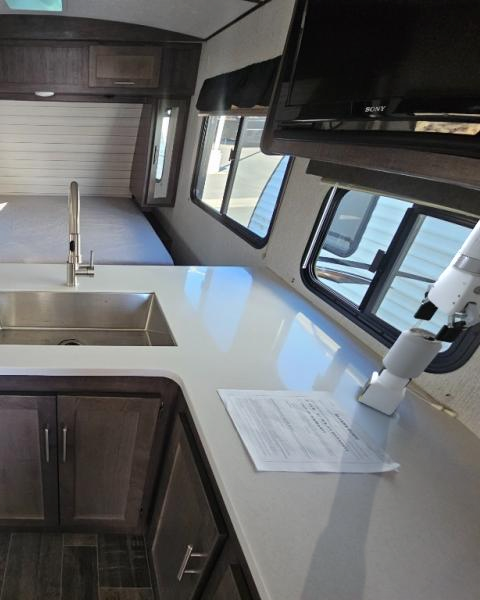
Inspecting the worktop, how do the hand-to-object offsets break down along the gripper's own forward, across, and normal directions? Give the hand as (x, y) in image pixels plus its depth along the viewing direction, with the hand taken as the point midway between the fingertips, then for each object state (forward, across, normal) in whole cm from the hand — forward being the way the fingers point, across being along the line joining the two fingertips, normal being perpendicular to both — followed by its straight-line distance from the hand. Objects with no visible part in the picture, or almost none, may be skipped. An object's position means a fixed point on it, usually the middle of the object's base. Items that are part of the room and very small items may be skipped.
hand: (431, 329), depth 77 cm
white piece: (+26, 0, +1) cm, 26 cm away
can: (+14, 0, 0) cm, 14 cm away
